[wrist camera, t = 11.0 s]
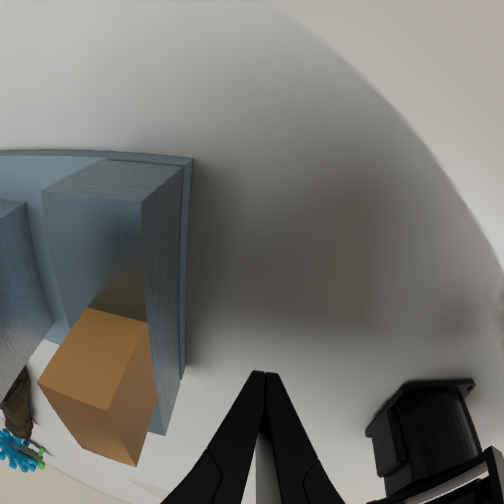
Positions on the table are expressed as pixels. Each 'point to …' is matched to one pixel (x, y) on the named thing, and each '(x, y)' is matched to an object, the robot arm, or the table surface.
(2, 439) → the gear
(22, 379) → the brown wooden stick
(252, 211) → the table surface
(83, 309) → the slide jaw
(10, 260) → the steel block
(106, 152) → the vise
